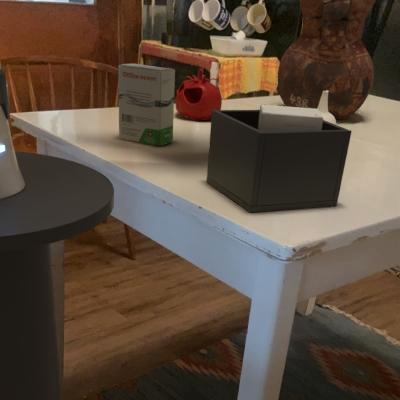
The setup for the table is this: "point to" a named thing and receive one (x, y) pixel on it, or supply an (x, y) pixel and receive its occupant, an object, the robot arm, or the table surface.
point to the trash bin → (275, 163)
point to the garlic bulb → (325, 108)
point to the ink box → (146, 103)
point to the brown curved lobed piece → (328, 58)
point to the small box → (289, 119)
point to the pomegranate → (198, 98)
